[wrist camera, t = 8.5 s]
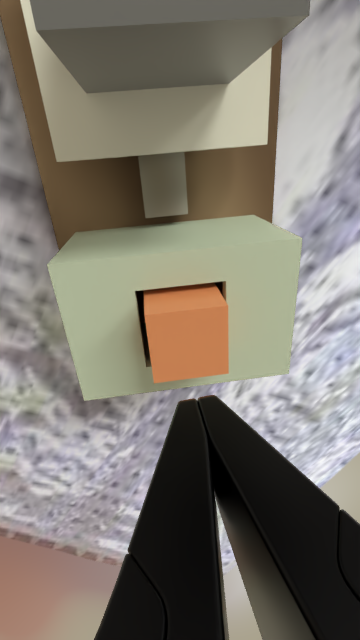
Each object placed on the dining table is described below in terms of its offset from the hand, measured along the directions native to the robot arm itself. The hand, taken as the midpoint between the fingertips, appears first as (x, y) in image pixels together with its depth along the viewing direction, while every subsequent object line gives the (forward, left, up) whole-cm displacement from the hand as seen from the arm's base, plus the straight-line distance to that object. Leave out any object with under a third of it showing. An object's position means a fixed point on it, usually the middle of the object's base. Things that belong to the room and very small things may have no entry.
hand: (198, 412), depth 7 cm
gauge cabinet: (0, +1, -11) cm, 11 cm away
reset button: (0, +1, -8) cm, 8 cm away
